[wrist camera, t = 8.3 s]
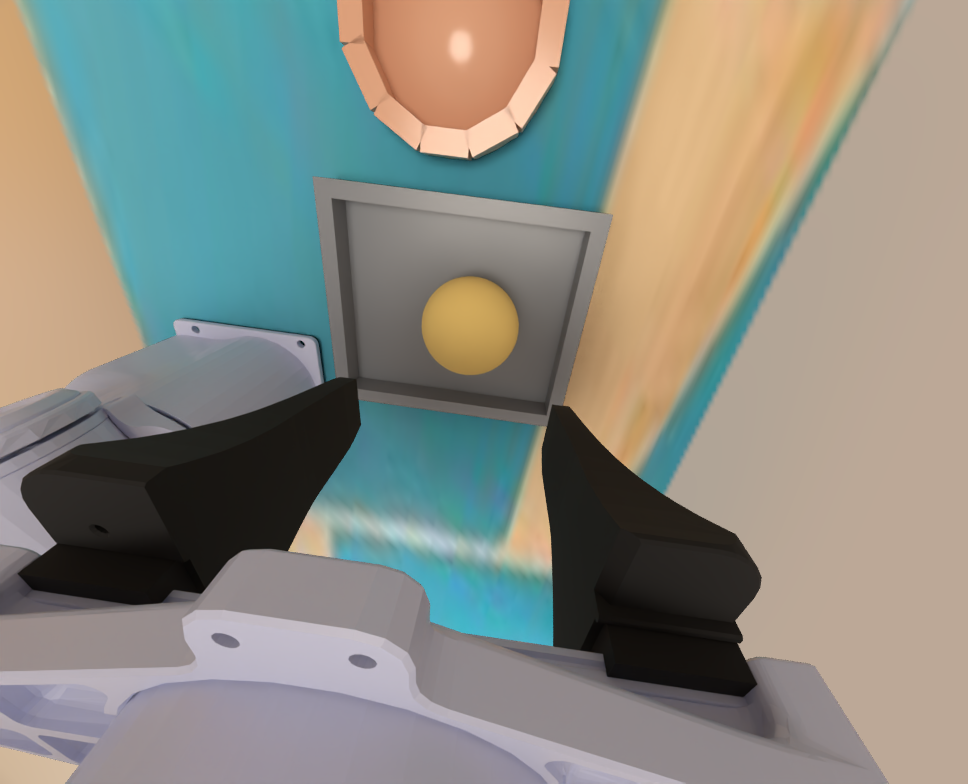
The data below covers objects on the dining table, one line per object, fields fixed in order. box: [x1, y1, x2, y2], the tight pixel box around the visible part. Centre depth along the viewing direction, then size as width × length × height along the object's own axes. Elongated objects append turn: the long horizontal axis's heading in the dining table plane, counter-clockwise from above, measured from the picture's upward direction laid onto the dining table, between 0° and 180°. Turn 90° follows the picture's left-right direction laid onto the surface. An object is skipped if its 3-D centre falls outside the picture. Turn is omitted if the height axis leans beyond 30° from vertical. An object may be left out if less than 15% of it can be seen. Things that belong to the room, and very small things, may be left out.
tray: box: [313, 176, 613, 427], centre depth 20 cm, size 14×12×2 cm
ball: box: [422, 276, 519, 375], centre depth 18 cm, size 5×5×5 cm
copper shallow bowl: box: [337, 0, 570, 160], centre depth 14 cm, size 9×9×2 cm
